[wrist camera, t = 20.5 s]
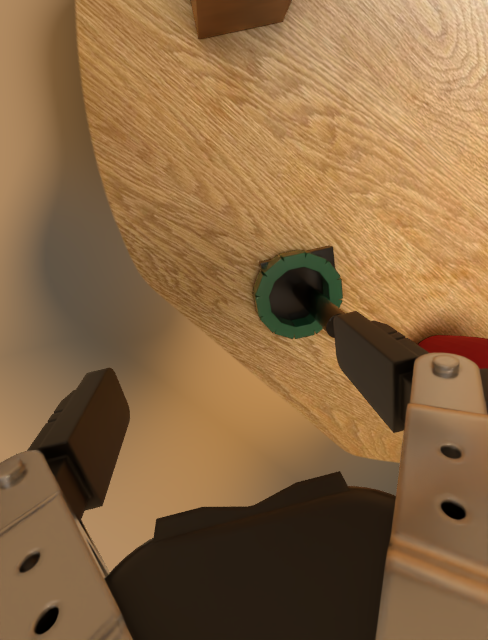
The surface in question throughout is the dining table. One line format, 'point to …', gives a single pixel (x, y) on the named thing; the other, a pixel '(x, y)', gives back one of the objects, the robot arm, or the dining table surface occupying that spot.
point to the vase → (459, 347)
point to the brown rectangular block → (235, 15)
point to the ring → (275, 271)
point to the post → (304, 294)
